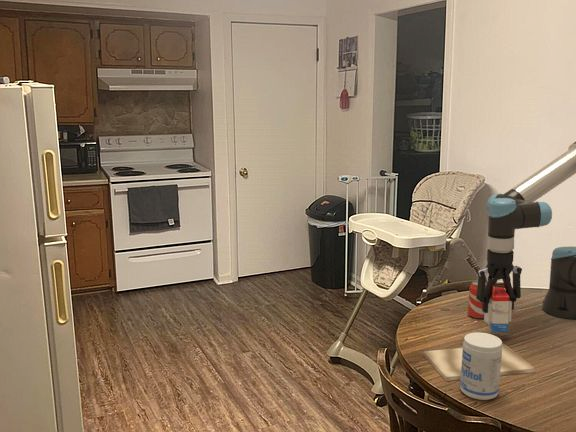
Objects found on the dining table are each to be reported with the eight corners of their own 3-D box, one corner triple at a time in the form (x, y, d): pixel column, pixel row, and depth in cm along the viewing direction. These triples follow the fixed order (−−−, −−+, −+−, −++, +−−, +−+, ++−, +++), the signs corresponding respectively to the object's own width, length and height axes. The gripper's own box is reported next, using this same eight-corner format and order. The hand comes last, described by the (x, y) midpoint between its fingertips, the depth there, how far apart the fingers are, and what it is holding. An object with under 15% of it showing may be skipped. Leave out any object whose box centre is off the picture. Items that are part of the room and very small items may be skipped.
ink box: (508, 333, 177) (510, 287, 173) (491, 332, 177) (493, 287, 174) (502, 321, 185) (504, 278, 182) (486, 321, 186) (487, 278, 182)
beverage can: (480, 321, 196) (482, 287, 194) (464, 315, 201) (466, 282, 199) (490, 316, 200) (492, 283, 198) (474, 311, 205) (476, 279, 202)
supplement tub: (453, 393, 150) (456, 340, 147) (468, 379, 157) (471, 328, 154) (490, 405, 144) (494, 350, 141) (504, 390, 151) (508, 338, 148)
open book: (504, 347, 176) (505, 340, 175) (534, 372, 161) (535, 364, 160) (423, 355, 172) (423, 347, 171) (446, 381, 156) (446, 372, 156)
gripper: (522, 243, 181) (519, 313, 186) (465, 248, 178) (463, 319, 183) (536, 250, 173) (532, 322, 178) (476, 255, 171) (474, 328, 176)
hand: (497, 320), depth 181 cm, fingers closed on ink box, 6 cm apart
